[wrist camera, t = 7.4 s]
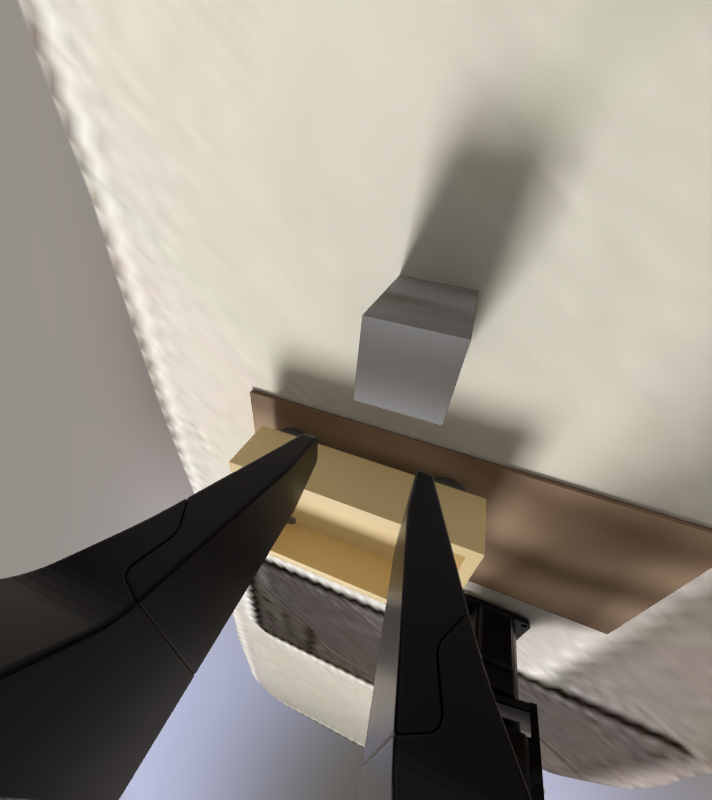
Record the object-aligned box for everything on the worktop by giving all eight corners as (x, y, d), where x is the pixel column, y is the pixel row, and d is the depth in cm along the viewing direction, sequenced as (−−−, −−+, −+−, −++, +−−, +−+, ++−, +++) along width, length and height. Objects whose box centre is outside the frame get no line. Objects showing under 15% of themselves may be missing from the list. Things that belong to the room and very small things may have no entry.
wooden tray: (446, 563, 28) (438, 626, 24) (278, 499, 32) (247, 545, 28) (486, 486, 22) (484, 555, 18) (270, 417, 25) (229, 461, 21)
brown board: (606, 630, 27) (607, 634, 26) (266, 499, 34) (264, 501, 33) (744, 539, 18) (747, 544, 18) (252, 390, 25) (249, 392, 25)
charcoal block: (455, 361, 18) (442, 425, 14) (387, 344, 19) (353, 400, 14) (478, 290, 16) (470, 339, 11) (399, 275, 17) (362, 315, 12)
